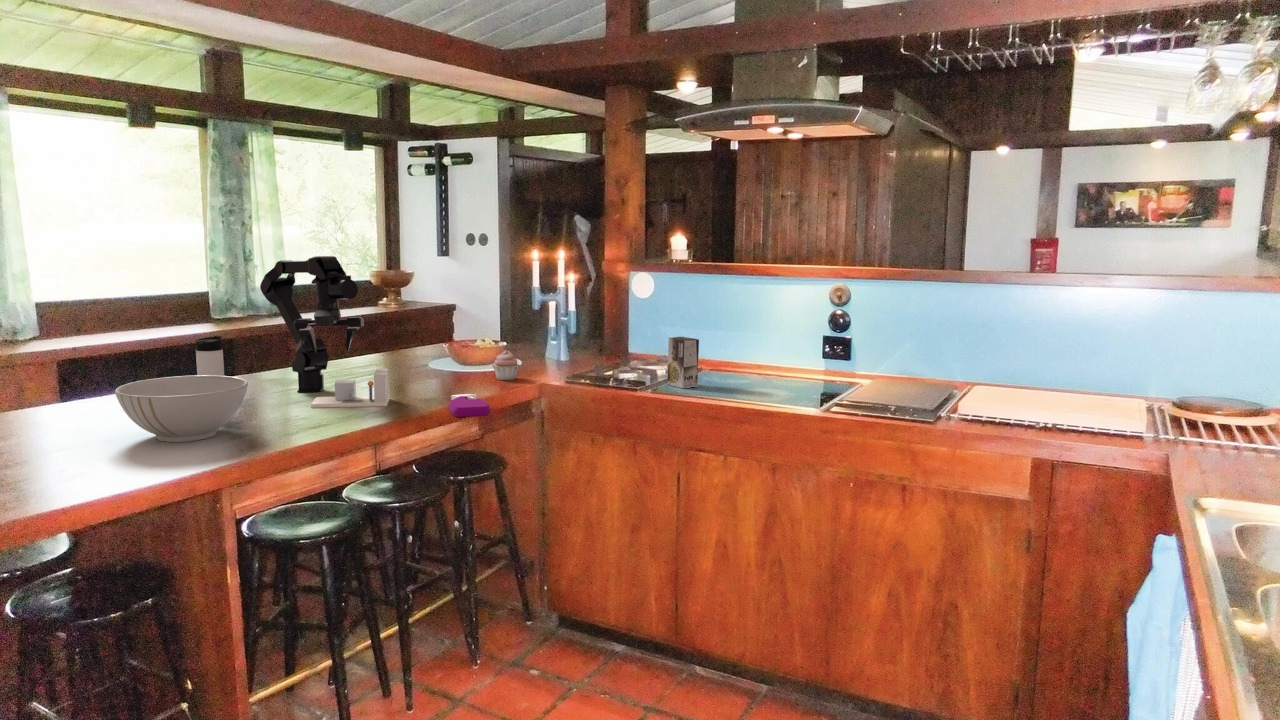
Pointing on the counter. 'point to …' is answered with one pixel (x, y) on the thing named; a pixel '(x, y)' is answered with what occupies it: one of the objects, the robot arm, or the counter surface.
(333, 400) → the base
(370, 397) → the drag needle
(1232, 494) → the counter surface
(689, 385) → the coffee box
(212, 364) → the travel mug
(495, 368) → the cupcake
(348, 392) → the block
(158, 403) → the decorative bowl
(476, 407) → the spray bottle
